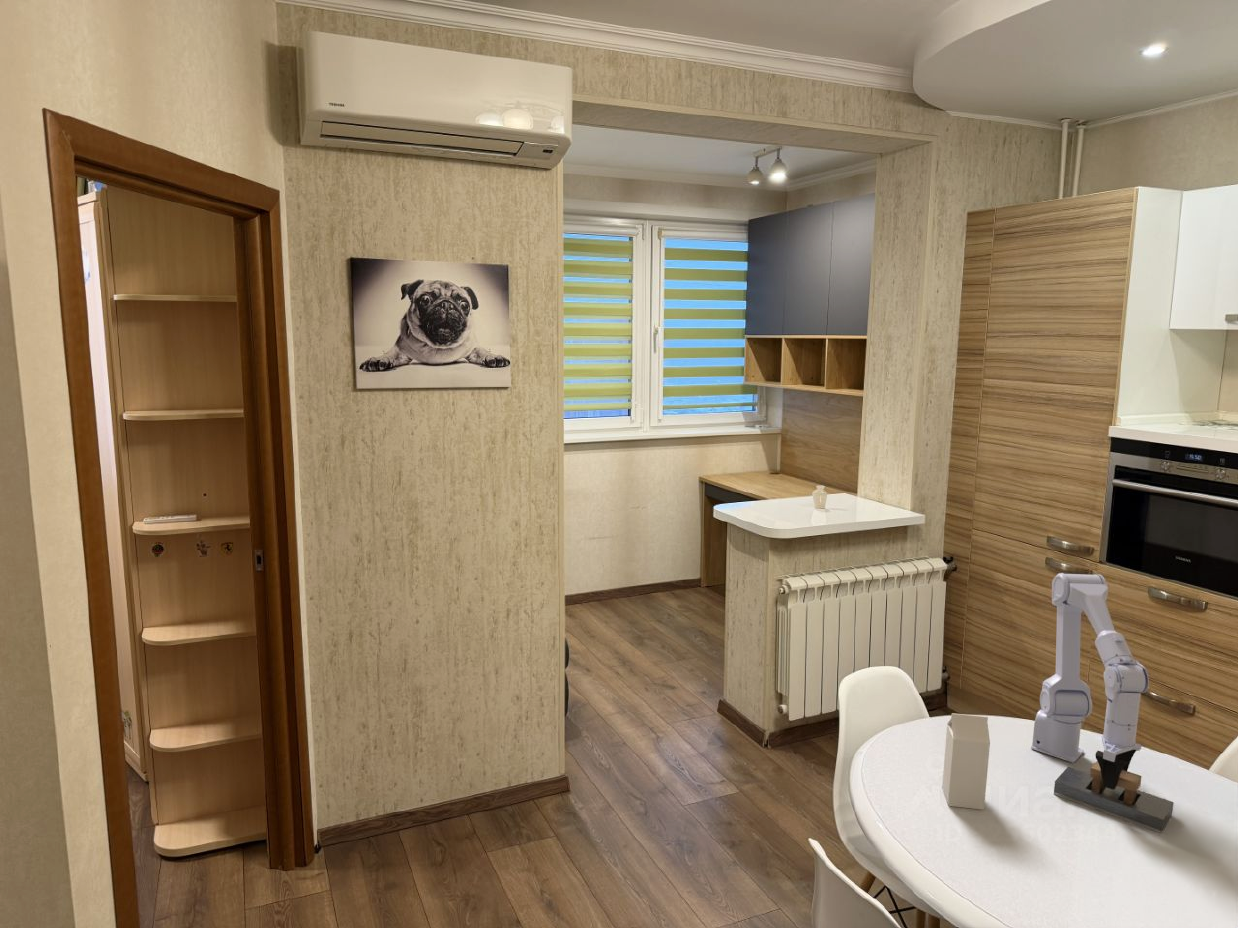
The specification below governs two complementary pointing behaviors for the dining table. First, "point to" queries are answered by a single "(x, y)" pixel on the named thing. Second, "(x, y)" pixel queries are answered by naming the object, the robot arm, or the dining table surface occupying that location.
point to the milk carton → (966, 761)
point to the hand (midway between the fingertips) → (1114, 780)
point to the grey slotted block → (1114, 800)
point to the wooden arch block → (1125, 781)
